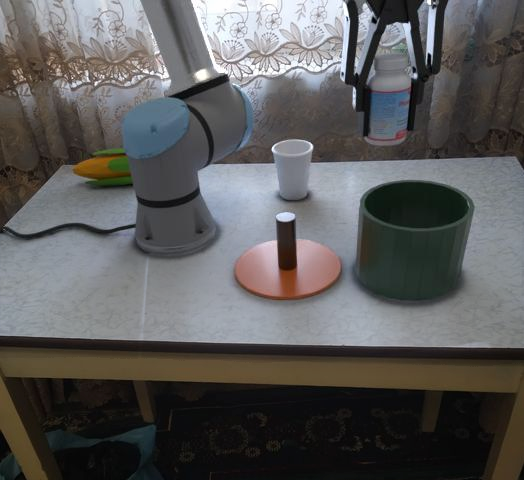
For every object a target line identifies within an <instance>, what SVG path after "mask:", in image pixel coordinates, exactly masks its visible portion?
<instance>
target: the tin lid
mask: <svg viewBox="0 0 524 480" xmlns="http://www.w3.org/2000/svg"><path fill="white" fill-rule="evenodd" d="M275 229H276V231H275V232H276V239H274V240H273V239H272V240H268V241H264V242H261V243H259V244H256V245H254V246H252V247H250V248H249V249H247V250H246V251H244V252H243V253H242V254H241V255H240V256H239V257H238V259H237V260H236V262H235V265H234V275H235V279H236V281H237V282H238V284H239V285H240V286H241V287H242V288H243V289H244V290H246V291H247V292H249V293H251V294H253V295H256V296H259V297H261V298H266V299H271V300H280V301H284V300H286V301H287V300H288V301H289V300H299V299H305V298H309V297H312V296H316V295H318V294H320V293H323V292H325V291H326V290H327V289H329V288H331V287H332V286H333V285H334V284H335V283H336V282H337V281H338V279H339V278H340V275H341V273H342V262H341V259H340V257H339V255H338V254H337V253H336V251H334V250H333V249H331V248H330V247H329V246H327V245H325V244H323V243H321V242H317V241H314V240H309V239H304V238H297V215H296V214H295V213H293V212H289V211H288V212H287V211H284V212H280V213H278V214H277V215H276V216H275Z"/></svg>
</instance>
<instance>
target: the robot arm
mask: <svg viewBox="0 0 524 480" xmlns="http://www.w3.org/2000/svg"><path fill="white" fill-rule="evenodd" d="M139 1H140V4H141V6H142V9H143V12H144V14H145V17H146V19H147V22H148V24H149V27H150V30H151V33H152V35H153V37H154V41H155V43H156V46H157V49H158V51H159V54H160V56H161V59H162V61H163V64H164V66H165V69H166V72H167V75H168V77H169V79H170V85H169V89H168V91H167V97H158V98H155V99H154V100H147V101H143V102H141V103H139V104H137V105H135V106H133V107H131V108H130V109H129V110H128V111H127V112H126V113H125V114H124V115H123V117H122V119H121V122H120V133H121V138H122V148H123V149H124V151H125V153H126V156H127V160H128V165H129V169H130V173H131V177H132V181H133V184H132V185H133V190H134V193H135V194H134V195H135V197H136V202H137V203H136V204H137V207H136V216H135V223H131V224H126V225H121V226H117V227H114V228H110V229H102V228H97V227H94V226H92V225H89V224H87V223H84V222H69V223H68V222H67V223H62V224H59V225H56V226H53V227H50V228H47V229H44V230H41V231H37V232H33V233H19V232H17V231H16V230H13V229H12V228H10V227H8V226H6V225H4V226H1V227H0V234H2V233H3V232H4V231H6V232H8V233H9V234H11V233H12V234H11V235H13V236H15V238H16V237H17V238H20V239H32V238H38V237H41V236H44V235H47V234H50V233H53V232H55V231H60V230H62V229H66V228H83V229H86V230H89V231H92V232H94V233H98V234H105V235H107V234H108V235H109V234H113V233H117V232H121V231H126V230H132V229H134V236H135V240H136V245H137V246H138V247H139V249H141V250H142V251H144V252H145V253H148V254H149V253H152V254H157V255H178V254H182V253H183V254H185V253H187V252H191V251H194V250H196V249H199V248H201V247H203V246H204V245H206V244H208V243H209V242H210V241H211V240H212V239H213V238H214V236H215V235H216V229H217V228H216V222H215V218H214V216H213V215H212V213H211V211H210V209H209V207H208V205H207V203H206V201H205V199H204V197H203V195H202V192H201V187H200V180H199V172H200V171H202V170H203V169H205V168H207V167H209V166H210V165H212V164H215V163H216V162H218V161H219V160H221V159H223V158H225V157H228V156H231V155H234V154H235V153H236V152H237V151H238V150H239V149H240V148H243V146H245V145H246V144H247V143H248V141H249V140H250V138H251V136H252V132H253V130H254V124H255V114H254V113H255V112H254V108H253V105H252V102H251V101H252V100H251V99H250V97H249V95H248V94H247V92H246V91H245V90H242V88H241V86H240V85H238V84H236V83H234V82H231V79H230V76H229V73H228V71H227V70H226V69H225V68H222V67H221V66H219V65H218V64H217V63H216V61H215V58H214V55H213V52H212V49H211V47H210V43H209V40H208V37H207V34H206V31H205V29H204V26H203V23H202V20H201V16H200V13H199V11H198V8H197V4H196V2H195V0H139ZM425 1H426V0H342V1H341V5H342V9H343V14H344V30H343V40H342V41H343V42H342V53H341V63H340V74H339V76H340V77H339V78H340V80H341V81H342V82H343V83H344V84H345V85H347V86H352V108H353V110H354V111H355V112H356V113H358V118H357V119H358V120H357V122H358V123H357V131H358V133H359V134H360V135H361V137H363V138H364V137H367V136H368V126H369V110H370V93H371V88H370V87H369V86H368V85H367V82H368V79H369V77H370V73H371V70H372V67H373V64H374V58H375V56H376V55H377V51H378V49H379V45H380V42H381V40H382V37H383V35H384V33H385V32H386V29H387V26H391V25H394V24H396V23H399V24H401V25H402V27H403V30H404V35H405V41H406V45H407V51H408V58H409V62H410V67H411V72H412V77H410V78H411V91H410V101H409V111H408V121H407V132H414V129H415V120H416V112H417V106H420V105H422V104H423V101H424V93H425V85H426V83H427V82H429V80H430V77H432V76H436V75H438V74H439V73H440V72H441V69H442V67H441V66H442V57H443V56H442V53H443V39H444V26H445V14H446V13H445V12H446V9H447V6H448V3H449V0H427V5H428V6H429V8H428V16H427V17H428V18H427V33H426V35H427V36H426V51H425V52H426V53H425V54H424V48H423V47H424V46H423V42H422V37H421V36H422V35H421V30H420V26H421V22H420V17H419V12H418V11H419V9H420V8H421V7H422V5H423V4H424V2H425ZM364 5H366V6H367V8H368V9H369V11H370V13H371V16H370V19H369V22H368V27H367V28H368V29H367V32H366V36H365V39H364V43H363V45H362V49H361V51H360V54H359V58H358V61H357V64H356V56H357V47H358V37H359V27H360V17H359V16H361V14H362V13H363V7H364ZM3 229H5V230H3Z"/></svg>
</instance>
